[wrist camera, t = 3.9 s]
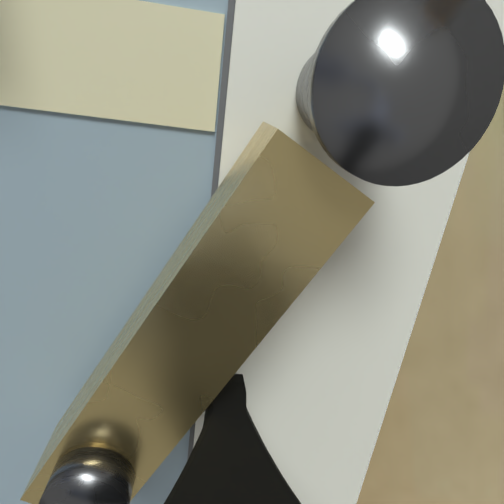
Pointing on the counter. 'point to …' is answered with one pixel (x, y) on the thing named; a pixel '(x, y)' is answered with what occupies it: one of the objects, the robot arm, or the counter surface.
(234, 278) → the swing bar
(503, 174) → the counter surface
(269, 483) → the robot arm
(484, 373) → the counter surface
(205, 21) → the door panel
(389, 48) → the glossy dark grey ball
